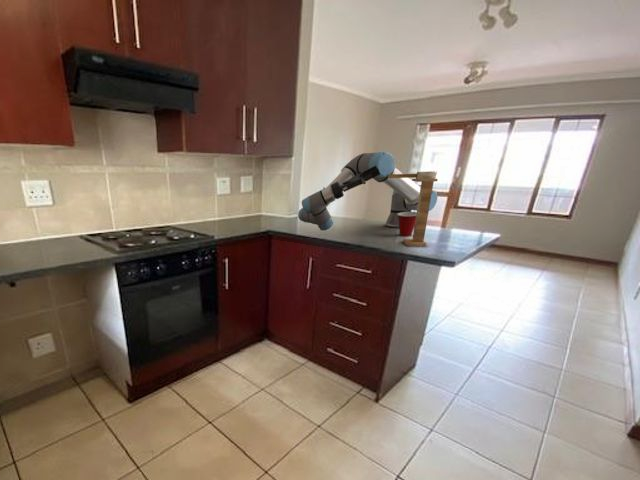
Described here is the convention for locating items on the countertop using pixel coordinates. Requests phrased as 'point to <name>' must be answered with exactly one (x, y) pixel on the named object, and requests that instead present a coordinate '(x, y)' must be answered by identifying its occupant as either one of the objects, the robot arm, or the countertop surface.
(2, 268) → the countertop surface
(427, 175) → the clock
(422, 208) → the stand
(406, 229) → the plastic cup
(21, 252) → the countertop surface
